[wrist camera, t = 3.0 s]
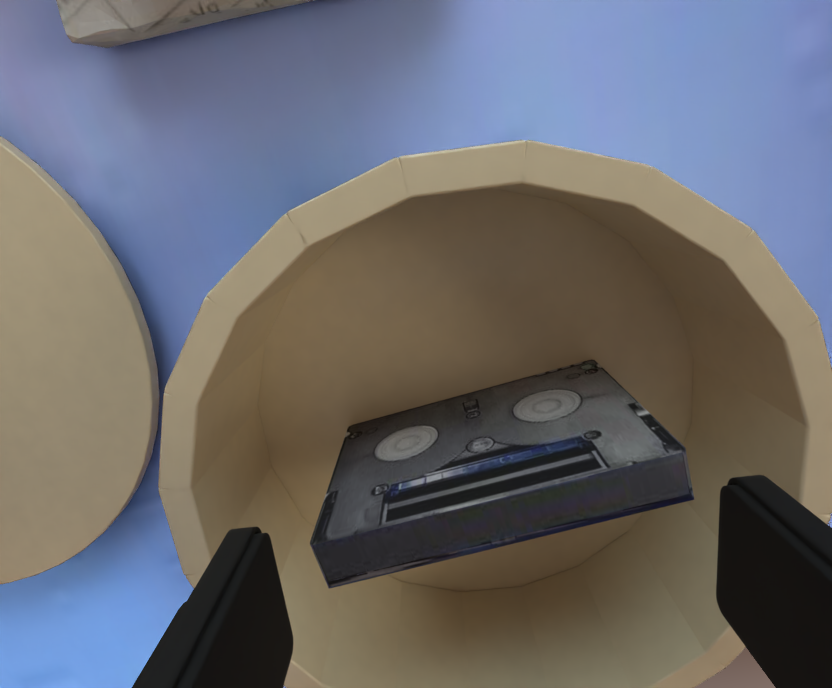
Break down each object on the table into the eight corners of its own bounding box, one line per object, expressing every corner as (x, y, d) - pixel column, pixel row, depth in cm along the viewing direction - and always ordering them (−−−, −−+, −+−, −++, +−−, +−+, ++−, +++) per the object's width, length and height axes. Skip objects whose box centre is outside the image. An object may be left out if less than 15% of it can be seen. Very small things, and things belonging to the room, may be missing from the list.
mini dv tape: (362, 464, 17) (331, 600, 11) (348, 425, 17) (308, 545, 11) (602, 401, 16) (699, 512, 11) (593, 358, 16) (688, 450, 10)
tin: (722, 128, 14) (887, 90, 9) (703, 581, 19) (808, 725, 14) (188, 198, 15) (69, 200, 10) (289, 617, 19) (241, 767, 14)
